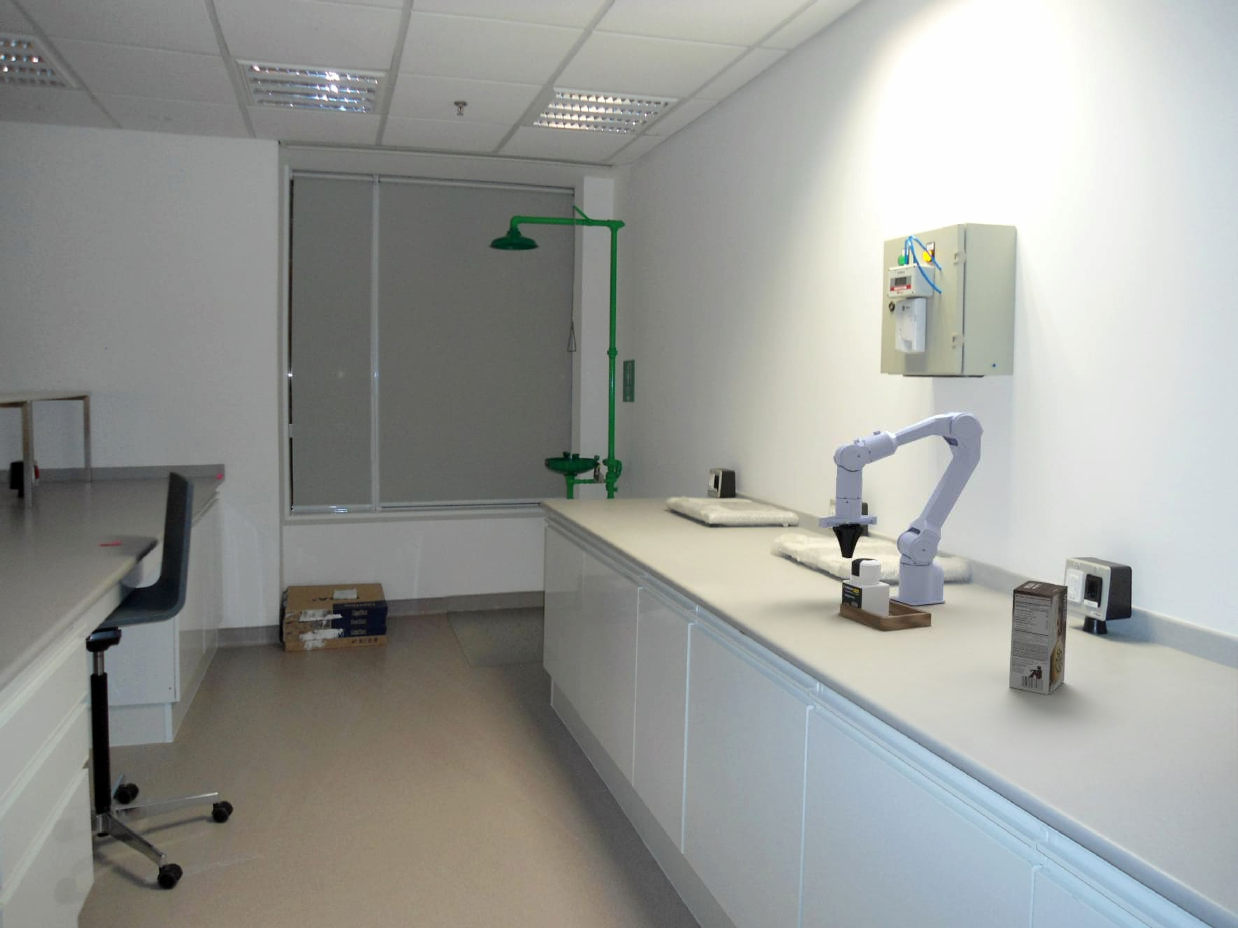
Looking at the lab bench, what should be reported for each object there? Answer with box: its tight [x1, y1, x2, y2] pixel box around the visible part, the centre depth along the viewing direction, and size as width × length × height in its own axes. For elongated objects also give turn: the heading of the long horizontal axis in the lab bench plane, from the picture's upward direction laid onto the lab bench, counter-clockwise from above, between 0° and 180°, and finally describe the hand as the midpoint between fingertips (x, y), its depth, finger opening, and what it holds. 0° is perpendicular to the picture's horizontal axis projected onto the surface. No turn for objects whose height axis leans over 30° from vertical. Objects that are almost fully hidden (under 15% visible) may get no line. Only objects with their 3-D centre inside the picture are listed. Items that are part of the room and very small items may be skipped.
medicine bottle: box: [841, 557, 891, 617], centre depth 196 cm, size 7×7×12 cm
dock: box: [839, 599, 932, 632], centre depth 192 cm, size 12×14×2 cm
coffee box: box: [1008, 580, 1069, 696], centre depth 150 cm, size 9×6×16 cm
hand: (847, 557), depth 209 cm, fingers closed
